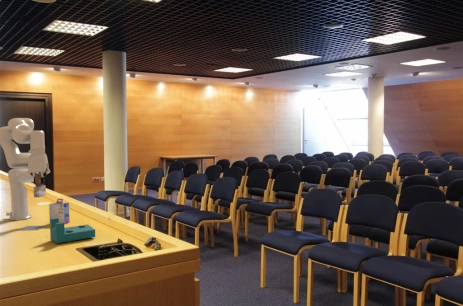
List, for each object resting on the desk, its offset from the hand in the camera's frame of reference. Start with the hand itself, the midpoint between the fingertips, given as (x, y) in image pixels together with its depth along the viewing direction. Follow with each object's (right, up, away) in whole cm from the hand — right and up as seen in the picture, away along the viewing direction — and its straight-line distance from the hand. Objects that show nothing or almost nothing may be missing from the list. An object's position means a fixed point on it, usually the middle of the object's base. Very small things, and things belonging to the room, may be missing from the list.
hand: (39, 183), depth 248 cm
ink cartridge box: (+12, -24, 0) cm, 26 cm away
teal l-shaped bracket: (+33, -25, -39) cm, 57 cm away
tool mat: (+1, -24, -11) cm, 26 cm away
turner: (0, -7, 0) cm, 7 cm away
